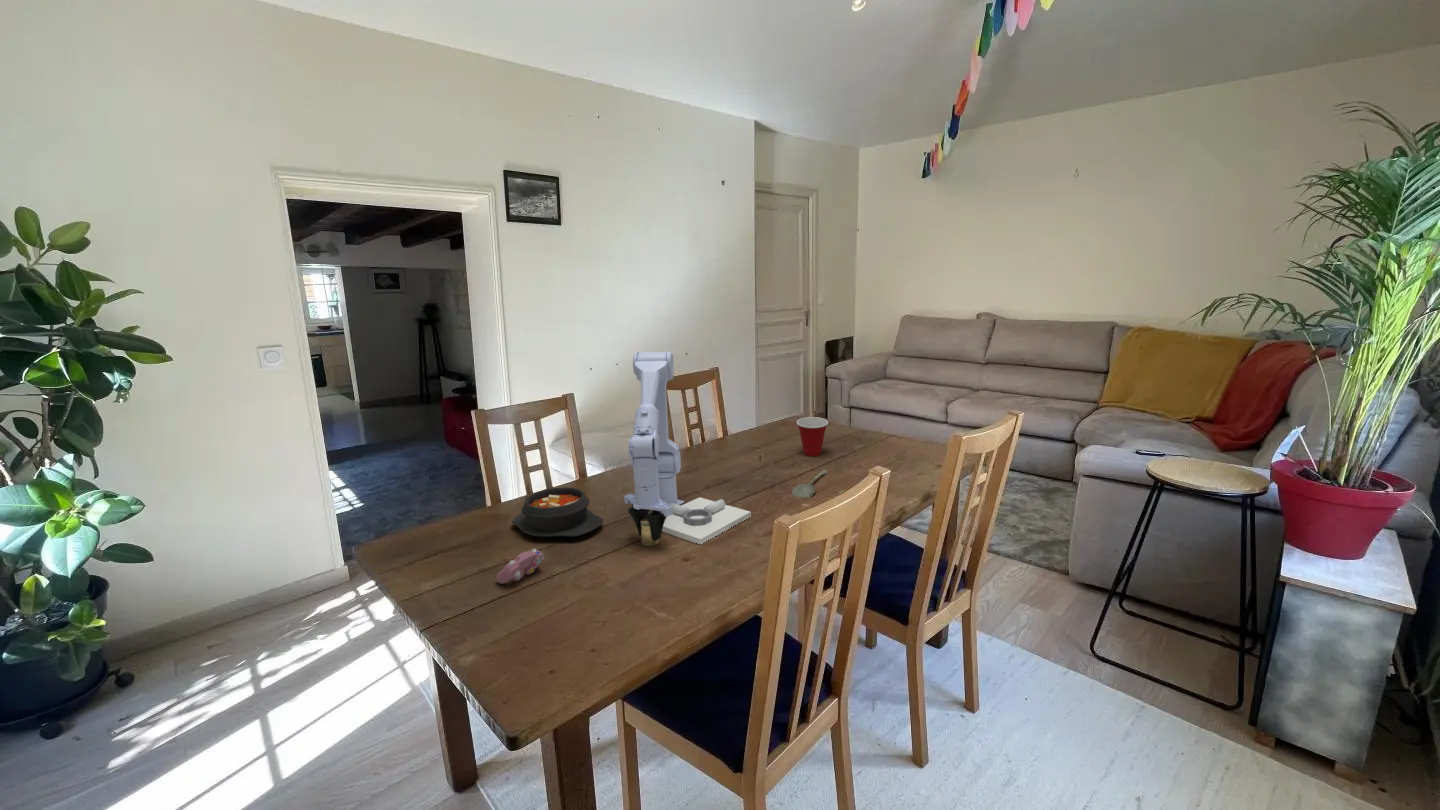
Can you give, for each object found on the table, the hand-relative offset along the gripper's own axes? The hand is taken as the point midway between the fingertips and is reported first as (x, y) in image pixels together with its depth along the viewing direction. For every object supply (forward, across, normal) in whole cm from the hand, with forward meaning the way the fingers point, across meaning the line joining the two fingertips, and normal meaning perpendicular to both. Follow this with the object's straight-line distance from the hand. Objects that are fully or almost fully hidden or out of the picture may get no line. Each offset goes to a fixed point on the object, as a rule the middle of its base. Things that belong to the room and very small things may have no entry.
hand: (649, 536), depth 143 cm
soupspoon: (+2, +12, +56) cm, 57 cm away
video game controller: (+2, -11, -28) cm, 30 cm away
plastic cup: (+2, -4, +82) cm, 82 cm away
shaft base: (+1, +2, +16) cm, 16 cm away
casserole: (+2, -26, -8) cm, 27 cm away
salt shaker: (+1, 0, 0) cm, 1 cm away
